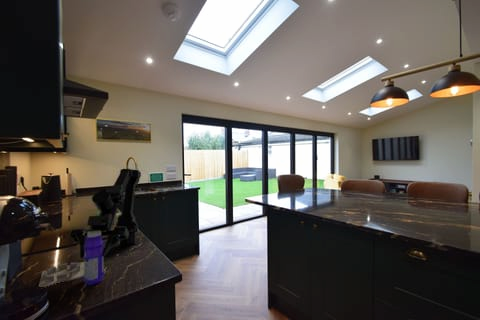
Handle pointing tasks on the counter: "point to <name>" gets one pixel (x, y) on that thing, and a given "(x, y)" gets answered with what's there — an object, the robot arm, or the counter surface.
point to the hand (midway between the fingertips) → (92, 256)
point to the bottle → (93, 258)
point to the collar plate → (62, 274)
